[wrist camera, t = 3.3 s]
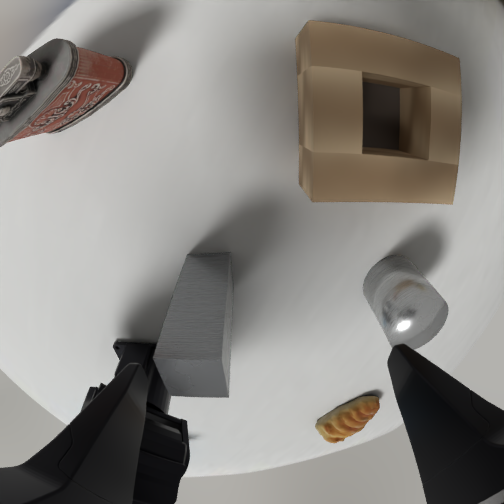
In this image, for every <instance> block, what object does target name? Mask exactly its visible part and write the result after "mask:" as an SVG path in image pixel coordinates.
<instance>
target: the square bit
mask: <svg viewBox="0 0 504 504" xmlns="http://www.w3.org/2000/svg"><path fill="white" fill-rule="evenodd" d="M233 291H234V287H233V277H232V266H231V254H230V253H209V254H188V255H187V257H186V260H185V263H184V265H183V268H182V271H181V274H180V277H179V279H178V282H177V285H176V288H175V291H174V294H173V297H172V300H171V303H170V306H169V309H168V312H167V315H166V318H165V321H164V324H163V327H162V330H161V333H160V337H159V340H158V343H157V346H156V350H155V353H154V356H153V360H154V362H155V364H156V367H157V369H158V371H159V373H160V376H161V378H162V380H163V382H164V384H165V386H166V389H167V391H168V393H169V395H170V396H185V397H229V382H230V356H231V332H232V311H233Z"/></svg>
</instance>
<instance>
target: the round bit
mask: <svg viewBox="0 0 504 504" xmlns="http://www.w3.org/2000/svg"><path fill="white" fill-rule="evenodd" d="M363 293H364V296H365V298H366V300H367V301H368V303H369V305H370V307H371V309H372V311H373V312H374V314H375V316H376V318H377V320H378V322H379V324H380V325H381V327H382V329H383V331H384V333H385V335H386V337H387V339H388V341H389V343H390V345H391V347H392V348H393V346H394V345H397V344H402V343H403V344H406V345H407V346H409V347H410V348H412V349H413V350H414V349H417V348H419V347H421V346H423V345H425V344H426V343H427V342H429V341H430V340H431V339H432V338H434V337H435V336H436V335H437V333H438V332H439V331H440V330H441V328H442V327H443V325H444V323H445V321H446V319H447V316H448V305H447V303H446V301H445V300H444V299H443V298H442V297H441V295H440V294H439V293H438V292H437V291H436V289H435V288H434V287H433V286H432V285H431V284H430V282H429V281H428V280H427V279H426V278H425V277H424V276H423V274H422V273H421V272H420V271H419V270H418V269H417V268H416V267H415V266H414V264H413V263H412V262H411V261H410V260H409V259H408V258H406V257H404V256H400V255H394V256H389V257H386V258H384V259H382V260H381V261H379V262H378V263H377V264H375V265H374V266H373V267H372V268H371V270H370V271H369V272H368V274H367V276H366V278H365V280H364V284H363Z"/></svg>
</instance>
